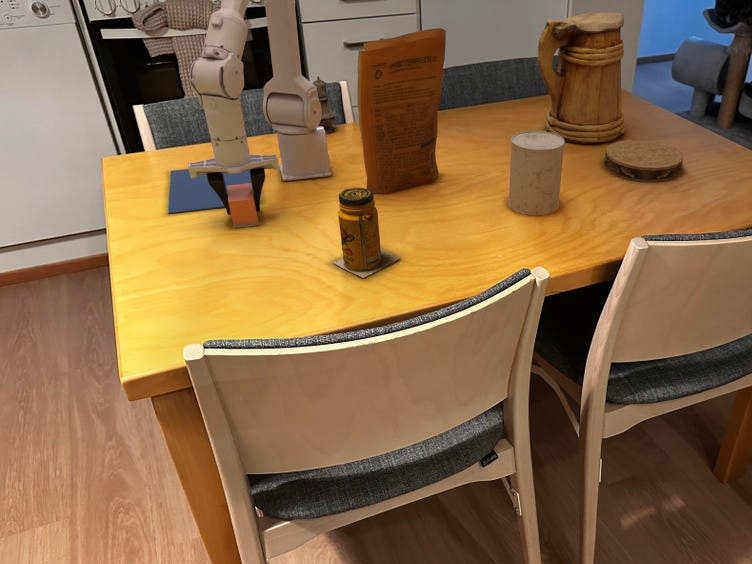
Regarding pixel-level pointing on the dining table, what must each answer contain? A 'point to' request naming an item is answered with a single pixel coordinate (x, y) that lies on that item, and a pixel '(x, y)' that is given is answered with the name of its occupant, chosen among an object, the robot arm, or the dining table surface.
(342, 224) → the condiment
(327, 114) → the grey pagoda figurine
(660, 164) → the brown round disc
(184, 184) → the cloth
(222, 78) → the robot arm
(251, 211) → the orange rectangular block
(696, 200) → the dining table surface
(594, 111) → the tankard
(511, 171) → the grey stone cylinder
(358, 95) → the pancake mix bag
